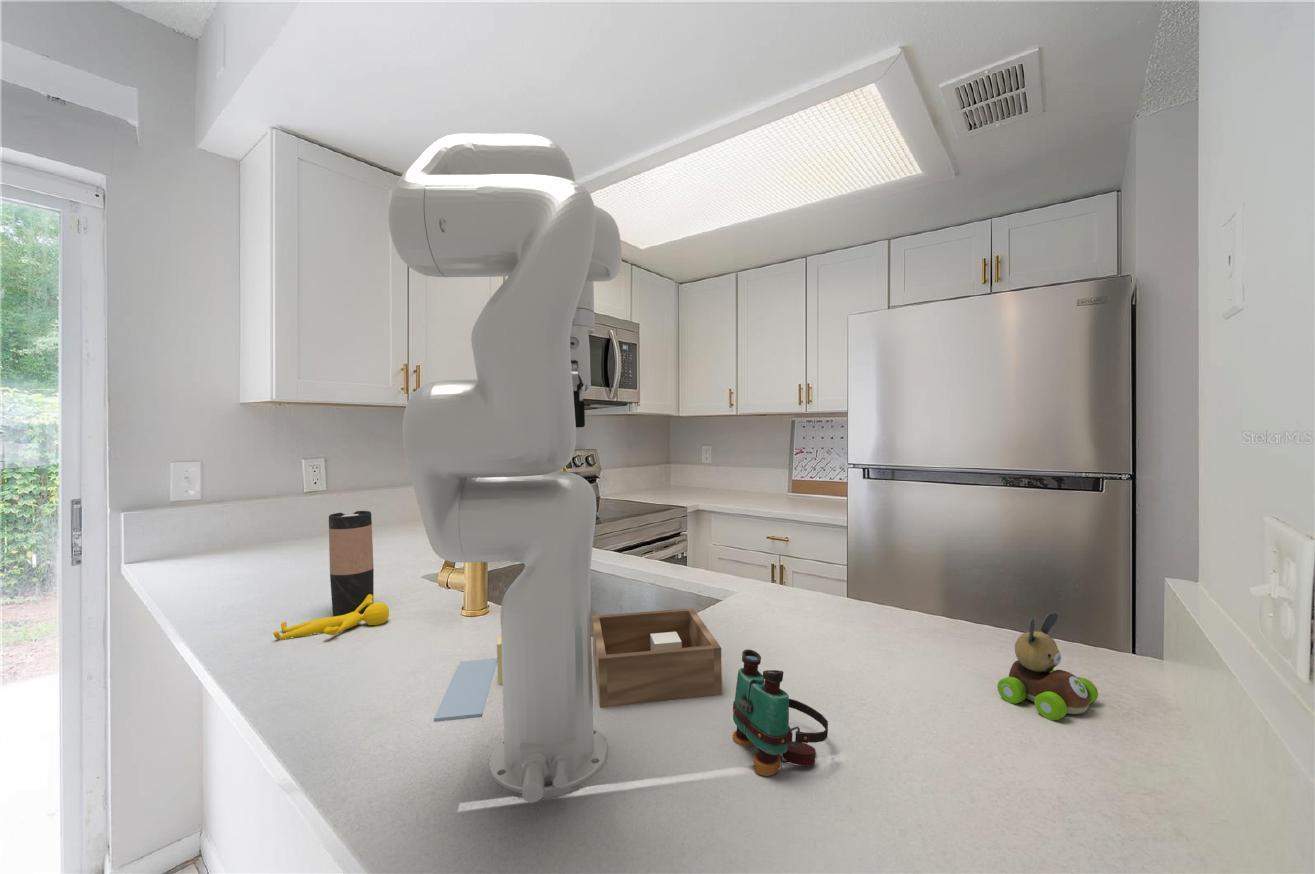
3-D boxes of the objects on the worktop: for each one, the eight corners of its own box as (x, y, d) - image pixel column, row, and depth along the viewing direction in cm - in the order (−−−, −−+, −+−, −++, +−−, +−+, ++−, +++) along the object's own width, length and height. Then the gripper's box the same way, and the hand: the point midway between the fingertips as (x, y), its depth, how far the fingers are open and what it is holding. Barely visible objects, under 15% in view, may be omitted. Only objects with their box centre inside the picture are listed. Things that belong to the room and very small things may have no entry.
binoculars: (845, 672, 58) (764, 679, 55) (838, 771, 58) (756, 785, 55) (796, 641, 67) (723, 646, 63) (789, 728, 67) (716, 738, 63)
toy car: (1066, 728, 64) (1065, 634, 64) (990, 696, 72) (990, 612, 72) (1105, 708, 69) (1105, 619, 68) (1030, 680, 76) (1029, 600, 76)
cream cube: (682, 669, 80) (681, 641, 80) (655, 671, 79) (654, 644, 79) (676, 657, 84) (676, 631, 84) (650, 660, 83) (650, 633, 83)
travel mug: (355, 620, 106) (352, 517, 105) (321, 618, 107) (318, 516, 107) (383, 607, 113) (380, 510, 113) (351, 605, 115) (348, 510, 114)
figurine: (286, 610, 104) (390, 589, 111) (290, 633, 105) (393, 611, 111) (264, 635, 92) (383, 610, 98) (268, 661, 92) (386, 635, 98)
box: (722, 700, 72) (721, 647, 72) (600, 713, 70) (598, 658, 69) (693, 651, 88) (692, 608, 88) (593, 660, 85) (592, 616, 85)
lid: (571, 712, 71) (570, 658, 71) (434, 726, 68) (432, 670, 68) (571, 658, 88) (570, 614, 88) (460, 667, 85) (459, 623, 85)
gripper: (597, 313, 83) (600, 426, 83) (591, 333, 100) (593, 427, 100) (546, 312, 82) (549, 428, 82) (549, 332, 99) (552, 427, 99)
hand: (574, 427), depth 91 cm, fingers open, 9 cm apart
